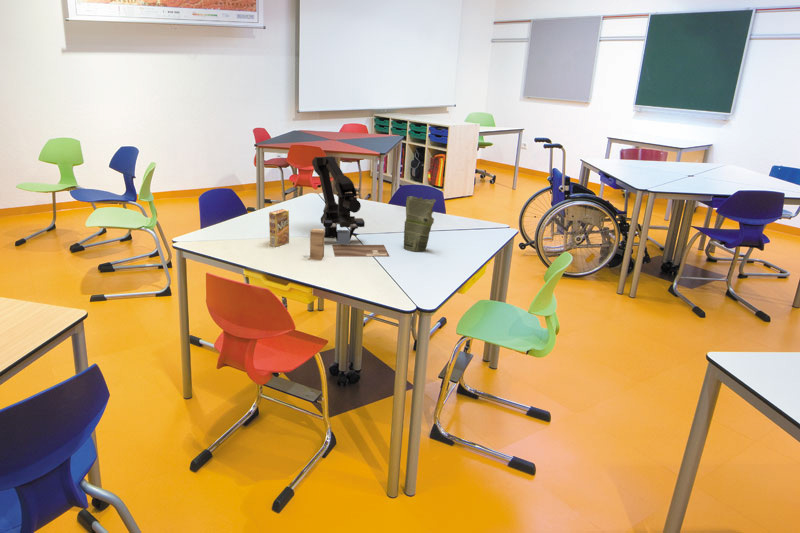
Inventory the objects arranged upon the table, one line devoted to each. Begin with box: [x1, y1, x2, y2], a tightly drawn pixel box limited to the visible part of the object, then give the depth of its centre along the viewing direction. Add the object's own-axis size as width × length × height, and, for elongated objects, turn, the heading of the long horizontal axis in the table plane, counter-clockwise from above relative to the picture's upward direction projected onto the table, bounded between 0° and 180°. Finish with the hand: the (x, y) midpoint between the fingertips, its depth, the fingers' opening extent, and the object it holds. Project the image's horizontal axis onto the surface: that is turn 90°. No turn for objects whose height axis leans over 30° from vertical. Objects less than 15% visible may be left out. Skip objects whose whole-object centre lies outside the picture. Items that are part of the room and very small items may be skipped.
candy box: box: [268, 208, 290, 248], centre depth 252 cm, size 9×4×15 cm, turn 150°
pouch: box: [403, 195, 437, 253], centre depth 255 cm, size 11×12×25 cm
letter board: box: [331, 244, 391, 258], centre depth 251 cm, size 17×24×1 cm
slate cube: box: [336, 229, 351, 245], centre depth 261 cm, size 6×6×6 cm
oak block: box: [309, 228, 325, 261], centre depth 238 cm, size 5×5×12 cm
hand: (343, 240), depth 261 cm, fingers closed on slate cube, 5 cm apart
